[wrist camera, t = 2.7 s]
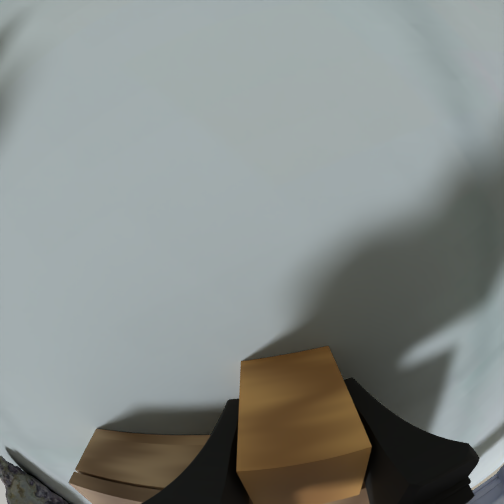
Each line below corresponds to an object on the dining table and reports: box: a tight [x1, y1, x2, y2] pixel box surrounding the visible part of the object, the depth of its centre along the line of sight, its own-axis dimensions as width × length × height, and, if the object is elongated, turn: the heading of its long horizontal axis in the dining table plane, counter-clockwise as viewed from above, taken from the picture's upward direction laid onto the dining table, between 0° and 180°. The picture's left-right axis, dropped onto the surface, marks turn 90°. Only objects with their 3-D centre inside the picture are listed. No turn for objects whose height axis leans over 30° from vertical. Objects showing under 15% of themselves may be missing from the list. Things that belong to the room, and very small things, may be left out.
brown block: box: [236, 346, 372, 504], centre depth 9 cm, size 4×4×6 cm
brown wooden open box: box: [75, 429, 210, 490], centre depth 13 cm, size 18×12×4 cm, turn 100°
